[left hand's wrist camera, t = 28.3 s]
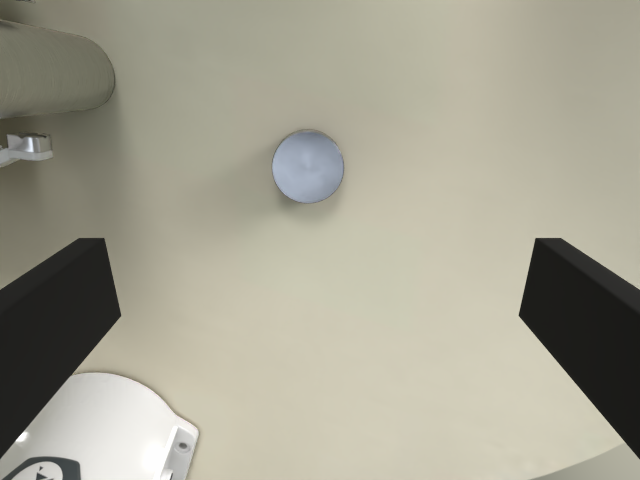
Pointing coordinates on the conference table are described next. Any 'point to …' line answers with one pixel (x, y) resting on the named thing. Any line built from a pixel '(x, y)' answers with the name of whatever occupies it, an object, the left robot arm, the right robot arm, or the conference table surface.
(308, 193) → the lid
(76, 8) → the conference table surface
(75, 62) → the thermos bottle
